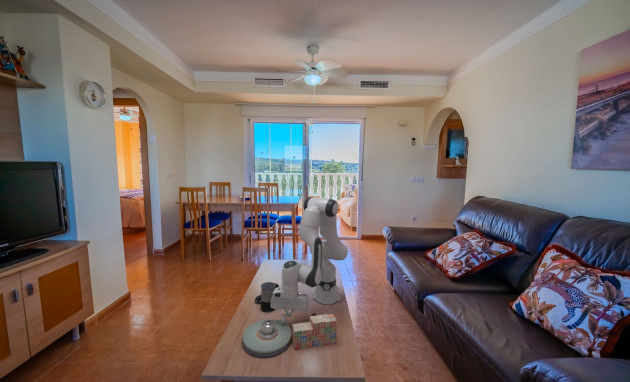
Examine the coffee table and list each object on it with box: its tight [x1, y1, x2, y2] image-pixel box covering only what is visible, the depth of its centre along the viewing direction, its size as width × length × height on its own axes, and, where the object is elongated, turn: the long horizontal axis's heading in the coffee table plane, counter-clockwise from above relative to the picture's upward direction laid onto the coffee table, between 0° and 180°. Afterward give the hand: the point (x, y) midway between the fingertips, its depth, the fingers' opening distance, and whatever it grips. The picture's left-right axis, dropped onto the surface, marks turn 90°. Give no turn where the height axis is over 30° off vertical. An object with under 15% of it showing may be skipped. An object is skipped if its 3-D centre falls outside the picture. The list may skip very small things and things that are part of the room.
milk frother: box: [254, 281, 280, 313], centre depth 159 cm, size 14×16×15 cm
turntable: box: [242, 313, 292, 353], centre depth 128 cm, size 24×24×6 cm
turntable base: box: [241, 331, 293, 359], centre depth 129 cm, size 25×25×2 cm
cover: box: [259, 320, 277, 340], centre depth 128 cm, size 9×9×6 cm
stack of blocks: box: [291, 313, 338, 350], centre depth 127 cm, size 21×6×12 cm, turn 104°
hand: (289, 316), depth 138 cm, fingers closed
